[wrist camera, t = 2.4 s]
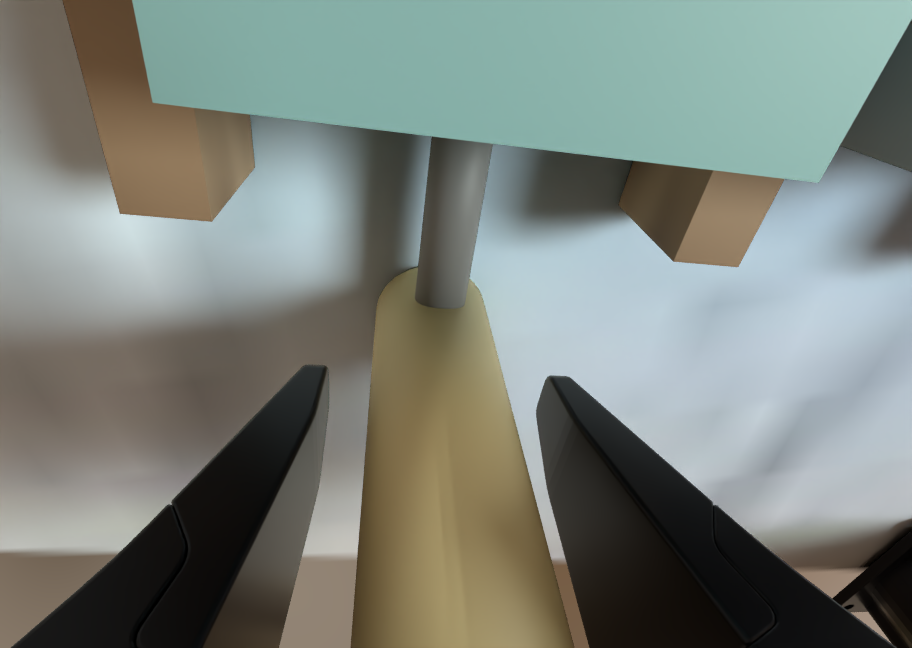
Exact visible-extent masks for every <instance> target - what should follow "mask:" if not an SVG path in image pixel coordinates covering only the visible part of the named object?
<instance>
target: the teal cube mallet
mask: <svg viewBox="0 0 912 648" xmlns="http://www.w3.org/2000/svg"><path fill="white" fill-rule="evenodd" d="M132 2H133V7H134V12H135V17H136V22H137V27H138V32H139V37H140V42H141V47H142V52H143V57H144V62H145V67H146V72H147V77H148V82H149V87H150V92H151V97H152V102H153V103H159V104H167V105H175V106H183V107H192V108H200V109H208V110H217V111H225V112H233V113H242V114H250V115H258V116H267V117H275V118H283V119H291V120H300V121H308V122H316V123H325V124H333V125H341V126H350V127H358V128H366V129H375V130H383V131H391V132H399V133H408V134H416V135H424V136H432V139H431V148H430V158H429V167H428V177H427V186H426V196H425V205H424V215H423V224H422V234H421V243H420V253H419V262H418V267H417V268H413V269H410V270H407V271H405V272H403V273H401V274H400V275H398V276H396V277H395V278H394V279H393V280H391V281H390V282H389V283H388V284H387V285H386V287H385V288H384V289H383V291H382V292H381V295H380V297H379V299H378V302H377V308H376V319H375V333H374V346H373V359H372V372H371V385H370V399H369V412H368V425H367V438H366V452H365V465H364V478H363V491H362V505H361V518H360V531H359V544H358V557H357V572H356V584H355V585H356V586H355V597H354V598H355V599H354V610H353V611H354V612H353V625H352V637H351V648H574V644H573V640H572V637H571V633H570V629H569V625H568V622H567V618H566V614H565V610H564V606H563V602H562V599H561V595H560V591H559V587H558V583H557V580H556V576H555V572H554V568H553V564H552V560H551V557H550V553H549V549H548V545H547V541H546V538H545V534H544V530H543V526H542V522H541V519H540V515H539V511H538V507H537V503H536V500H535V496H534V492H533V488H532V484H531V480H530V477H529V473H528V469H527V465H526V461H525V458H524V454H523V450H522V446H521V442H520V439H519V435H518V431H517V427H516V423H515V420H514V416H513V412H512V408H511V404H510V400H509V397H508V393H507V389H506V385H505V381H504V378H503V374H502V370H501V366H500V362H499V359H498V355H497V351H496V347H495V343H494V340H493V336H492V332H491V328H490V324H489V320H488V317H487V313H486V309H485V305H484V301H483V298H482V295H481V293H480V291H479V289H478V288H477V286H476V285H475V284H474V283H473V282H472V281H471V280H470V279H469V277H470V272H471V266H472V260H473V254H474V249H475V243H476V237H477V232H478V226H479V220H480V214H481V209H482V203H483V197H484V191H485V186H486V180H487V174H488V169H489V163H490V157H491V151H492V146H493V144H499V145H507V146H516V147H524V148H532V149H541V150H549V151H557V152H566V153H574V154H582V155H591V156H599V157H607V158H615V159H624V160H632V161H640V162H649V163H657V164H665V165H674V166H682V167H690V168H699V169H707V170H715V171H724V172H732V173H740V174H748V175H757V176H765V177H773V178H782V179H790V180H798V181H807V182H815V183H819V181H820V180H821V178H822V176H823V174H824V173H825V171H826V169H827V167H828V166H829V164H830V162H831V160H832V159H833V157H834V155H835V153H836V152H837V150H838V148H839V146H840V144H841V143H842V141H843V139H844V137H845V136H846V134H847V132H848V130H849V129H850V127H851V125H852V123H853V122H854V120H855V118H856V116H857V115H858V113H859V111H860V109H861V107H862V106H863V104H864V102H865V100H866V99H867V97H868V95H869V93H870V92H871V90H872V88H873V86H874V85H875V83H876V81H877V79H878V78H879V76H880V74H881V72H882V70H883V69H884V67H885V65H886V63H887V62H888V60H889V58H890V56H891V55H892V53H893V51H894V49H895V48H896V46H897V44H898V42H899V41H900V39H901V37H902V35H903V33H904V32H905V30H906V28H907V26H908V25H909V23H910V21H911V19H912V0H132Z"/></svg>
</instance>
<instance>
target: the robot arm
mask: <svg viewBox="0 0 912 648" xmlns="http://www.w3.org/2000/svg"><path fill="white" fill-rule="evenodd" d="M328 409H329V372H328V368H327V367H326V366H324V365H305V366H303V367H302V368H301V369H300V370H299V371H298V372H297V373H296V374H295V375H294V376H293V377H292V378H291V379H290V380H289V381H288V382H287V383H286V384H285V385H284V386H283V387H282V388H281V389H280V390H279V391H278V392H277V393H276V394H275V395H274V397H273V398H272V399H271V400H270V401H269V402H268V403H267V404H266V405H265V406H264V407H263V408H262V409H261V410H260V411H259V412H258V413H257V414H256V415H255V416H254V417H253V418H252V419H251V420H250V421H249V422H248V423H247V424H246V425H245V426H244V427H243V428H242V429H241V430H240V431H239V432H238V433H237V434H236V435H235V436H234V437H233V438H232V440H231V441H230V442H229V443H228V444H227V445H226V446H225V447H224V448H223V449H222V450H221V451H220V452H219V453H218V454H217V455H216V456H215V457H214V458H213V459H212V460H211V461H210V462H209V463H208V464H207V465H206V466H205V467H204V468H203V469H202V470H201V471H200V472H199V473H198V474H197V475H196V476H195V477H194V478H193V479H192V480H191V481H190V483H189V484H188V485H187V486H186V487H185V488H184V489H183V490H182V491H181V492H180V493H179V494H178V495H177V496H176V497H175V498H174V499H173V500H172V502H171V503H172V505H167V506H166V507H165V508H164V509H163V510H162V511H161V512H160V513H159V514H158V515H157V516H156V517H155V518H154V519H153V520H152V521H151V522H150V523H149V524H148V525H147V526H146V527H145V528H144V529H143V530H142V531H141V532H140V533H139V534H138V535H137V536H136V537H135V538H134V539H133V540H132V541H131V542H130V543H129V544H128V545H127V546H126V547H125V548H124V549H123V550H122V551H120V552H119V553H118V554H117V555H116V556H115V557H114V558H113V559H112V560H111V561H110V562H109V563H107V565H105V566H104V567H103V568H102V569H101V570H100V571H99V572H97V573H96V574H95V575H94V576H93V577H92V578H91V579H90V580H88V581H87V582H86V583H85V584H84V585H83V586H82V587H81V588H80V589H78V590H77V591H76V592H75V593H74V594H73V595H71V596H70V597H69V598H68V599H67V600H66V601H64V602H63V603H62V604H61V605H60V606H59V607H58V608H56V609H55V610H54V611H53V612H52V613H51V614H49V615H48V616H47V617H46V618H45V619H44V620H42V621H41V622H40V623H39V624H38V625H37V626H35V627H34V628H33V629H32V630H31V631H30V632H28V633H27V634H26V635H25V636H24V637H23V638H21V639H20V640H19V641H18V642H17V643H16V644H14V645H13V646H12V647H11V648H279V645H280V641H281V637H282V633H283V629H284V625H285V621H286V617H287V613H288V609H289V605H290V601H291V597H292V593H293V589H294V585H295V581H296V577H297V573H298V569H299V565H300V561H301V557H302V553H303V549H304V545H305V541H306V537H307V533H308V529H309V525H310V521H311V517H312V513H313V509H314V505H315V501H316V497H317V493H318V488H319V482H320V476H321V468H322V460H323V451H324V443H325V435H326V426H327V418H328ZM536 418H537V425H538V432H539V439H540V445H541V452H542V459H543V466H544V473H545V479H546V485H547V490H548V494H549V498H550V502H551V506H552V510H553V514H554V517H555V521H556V525H557V528H558V532H559V536H560V540H561V543H562V547H563V551H564V555H565V558H566V562H567V566H568V569H569V573H570V577H571V581H572V584H573V588H574V592H575V595H576V599H577V603H578V607H579V611H580V614H581V618H582V622H583V625H584V629H585V633H586V637H587V640H588V644H589V647H590V648H912V530H911V531H910V532H909V533H908V534H907V535H905V536H904V537H903V538H902V539H901V540H900V541H898V542H897V543H896V544H895V545H894V546H893V547H892V548H890V549H889V550H888V551H887V552H886V553H885V554H883V555H882V556H881V557H880V558H879V559H878V560H876V561H875V562H874V563H873V564H872V565H871V566H869V567H868V568H867V569H866V570H865V571H864V572H862V573H861V574H860V575H859V576H858V577H857V578H856V579H854V580H853V581H852V582H851V583H850V584H849V585H848V586H846V587H845V588H844V589H843V590H842V591H840V592H839V593H838V594H837V595H836V596H835V597H834V598H831V597H829V596H828V595H827V594H825V593H824V592H823V591H822V590H820V589H819V588H817V587H816V586H815V585H814V584H812V583H811V582H810V581H808V580H807V579H805V578H804V577H803V576H802V575H801V574H799V573H798V572H797V571H795V570H794V569H793V568H792V567H790V566H789V565H788V564H787V563H785V562H784V561H783V560H782V559H780V558H779V557H778V556H776V555H775V554H774V553H773V552H771V551H770V550H769V549H768V548H766V547H765V546H764V545H763V544H761V543H760V542H759V541H758V540H757V539H756V538H754V537H753V536H752V535H751V534H750V533H748V532H747V531H746V530H745V529H744V528H742V527H741V526H740V525H739V524H738V523H737V522H735V521H734V520H733V519H732V518H731V517H730V516H728V515H727V514H726V513H725V512H724V511H723V510H722V509H720V508H719V507H718V506H717V505H713V502H712V501H711V500H710V499H709V498H708V497H706V496H705V495H704V494H703V493H702V492H701V491H700V490H698V489H697V488H696V487H695V486H694V485H693V484H692V483H690V482H689V481H688V480H687V479H686V478H685V477H684V476H682V475H681V474H680V473H679V472H678V471H677V470H676V469H674V468H673V467H672V466H671V465H670V464H669V463H668V462H666V461H665V460H664V459H663V458H662V457H661V456H659V455H658V454H657V453H656V452H655V451H654V450H653V449H651V448H650V447H649V446H648V445H647V444H646V443H645V442H643V441H642V440H641V439H640V438H639V437H638V436H637V435H635V434H634V433H633V432H632V431H631V430H630V429H629V428H627V427H626V426H625V425H624V424H623V423H622V422H621V421H619V420H618V419H617V418H616V417H615V416H614V415H612V414H611V413H610V412H609V411H608V410H607V409H606V408H604V407H603V406H602V405H601V404H600V403H599V402H598V401H596V400H595V399H594V398H593V397H592V396H591V395H590V394H588V393H587V392H586V391H585V390H584V389H583V388H582V387H580V386H579V385H578V384H577V383H576V382H575V381H574V380H572V379H571V378H570V377H567V376H549V377H547V379H546V380H545V383H544V386H543V389H542V392H541V395H540V398H539V401H538V404H537V409H536ZM850 612H869V614H870V615H871V616H872V617H873V619H874V620H875V622H876V623H877V624H878V626H879V627H880V628H881V630H882V631H883V632H884V634H885V635H886V636H887V638H888V639H889V641H890V642H891V643H892V644H891V643H890V642H888V641H887V640H886V639H884V638H883V637H882V636H880V635H879V634H878V633H876V632H875V631H874V630H872V629H871V628H870V627H868V626H867V625H866V624H864V623H863V622H862V621H861V620H859V619H858V618H856V617H855V616H854V615H853V614H851V613H850Z"/></svg>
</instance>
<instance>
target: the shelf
mask: <svg viewBox="0 0 912 648" xmlns="http://www.w3.org/2000/svg"><path fill="white" fill-rule="evenodd" d="M63 4H64V8H65V11H66V15H67V19H68V22H69V26H70V30H71V34H72V37H73V41H74V45H75V48H76V52H77V56H78V60H79V63H80V67H81V71H82V74H83V78H84V82H85V85H86V89H87V93H88V97H89V100H90V104H91V108H92V111H93V115H94V119H95V123H96V126H97V130H98V134H99V137H100V141H101V145H102V149H103V152H104V156H105V160H106V163H107V167H108V171H109V175H110V178H111V182H112V186H113V189H114V193H115V197H116V201H117V204H118V208H119V212H120V214H130V215H142V216H153V217H165V218H176V219H188V220H199V221H211V222H212V221H213V220H214V218H215V217H216V216H217V214H218V213H219V212H220V211H221V209H222V208H223V207H224V206H225V204H226V203H227V202H228V201H229V199H230V198H231V197H232V196H233V194H234V193H235V192H236V190H237V189H238V188H239V187H240V185H241V184H242V183H243V182H244V180H245V179H246V178H247V177H248V175H249V174H250V173H251V172H252V170H253V169H254V168H255V163H254V153H253V143H252V132H251V122H250V114H242V113H233V112H225V111H217V110H208V109H200V108H192V107H183V106H175V105H167V104H159V103H153V102H152V97H151V92H150V87H149V82H148V77H147V72H146V67H145V62H144V57H143V52H142V47H141V42H140V37H139V32H138V27H137V22H136V17H135V12H134V7H133V2H132V0H63ZM783 181H784V179H782V178H773V177H765V176H757V175H748V174H740V173H732V172H724V171H715V170H707V169H699V168H690V167H682V166H674V165H665V164H657V163H649V162H640V161H633V163H632V166H631V169H630V172H629V175H628V178H627V181H626V184H625V187H624V190H623V192H622V195H621V198H620V201H619V204H618V205H619V206H620V208H621V209H622V210H623V211H624V212H625V213H626V214H627V215H628V216H629V217H630V218H631V219H632V220H633V221H634V222H635V223H636V224H637V225H638V226H639V227H640V228H641V229H642V230H643V231H644V232H645V233H646V234H647V235H648V236H649V237H650V238H651V239H652V240H653V241H654V242H655V243H656V244H657V245H658V246H659V247H660V248H661V249H662V250H663V251H664V252H665V253H666V254H667V255H668V257H669V258H670V259H671V260H672V261H673V262H685V263H696V264H708V265H720V266H731V267H738V266H739V264H740V263H741V261H742V259H743V257H744V255H745V253H746V251H747V249H748V247H749V245H750V244H751V242H752V240H753V238H754V236H755V234H756V232H757V230H758V228H759V227H760V225H761V223H762V221H763V219H764V217H765V215H766V213H767V211H768V210H769V208H770V206H771V204H772V202H773V200H774V198H775V196H776V194H777V192H778V191H779V189H780V187H781V185H782V183H783Z"/></svg>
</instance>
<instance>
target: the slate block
mask: <svg viewBox="0 0 912 648" xmlns="http://www.w3.org/2000/svg"><path fill="white" fill-rule="evenodd" d="M840 146H843V147H845V148H848V149H851V150H853V151H856V152H859V153H862V154H864V155H867V156H870V157H872V158H875V159H878V160H881V161H883V162H886V163H889V164H891V165H894V166H897V167H899V168H902V169H905V170H908V171H910V172H912V19H911V21H910V23H909V25H908V26H907V28H906V30H905V32H904V33H903V35H902V37H901V39H900V41H899V42H898V44H897V46H896V48H895V49H894V51H893V53H892V55H891V56H890V58H889V60H888V62H887V63H886V65H885V67H884V69H883V70H882V72H881V74H880V76H879V78H878V79H877V81H876V83H875V85H874V86H873V88H872V90H871V92H870V93H869V95H868V97H867V99H866V100H865V102H864V104H863V106H862V107H861V109H860V111H859V113H858V115H857V116H856V118H855V120H854V122H853V123H852V125H851V127H850V129H849V130H848V132H847V134H846V136H845V137H844V139H843V141H842V143H841V144H840Z"/></svg>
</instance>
